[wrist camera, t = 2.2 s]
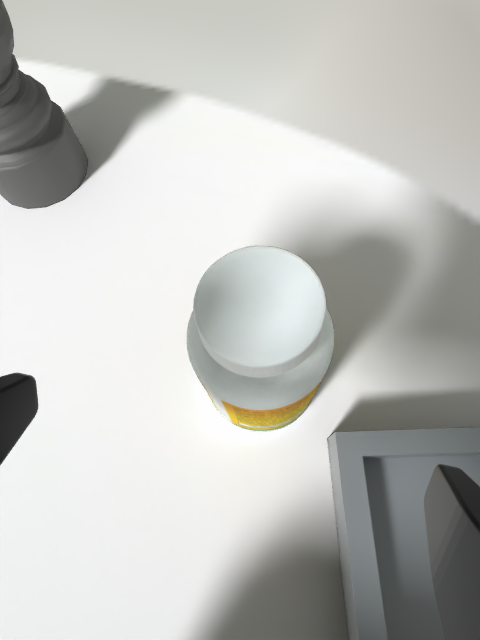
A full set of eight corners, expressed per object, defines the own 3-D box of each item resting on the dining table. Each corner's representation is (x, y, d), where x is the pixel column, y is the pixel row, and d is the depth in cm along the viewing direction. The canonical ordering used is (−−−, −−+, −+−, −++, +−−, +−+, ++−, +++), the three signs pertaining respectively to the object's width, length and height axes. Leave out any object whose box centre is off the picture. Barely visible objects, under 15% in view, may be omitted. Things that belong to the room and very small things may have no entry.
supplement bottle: (188, 384, 21) (131, 309, 12) (256, 313, 22) (249, 197, 14) (267, 458, 19) (267, 431, 11) (336, 376, 21) (387, 291, 12)
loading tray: (626, 705, 15) (690, 744, 13) (355, 707, 16) (371, 744, 13) (542, 431, 19) (579, 422, 17) (327, 439, 20) (335, 432, 17)
